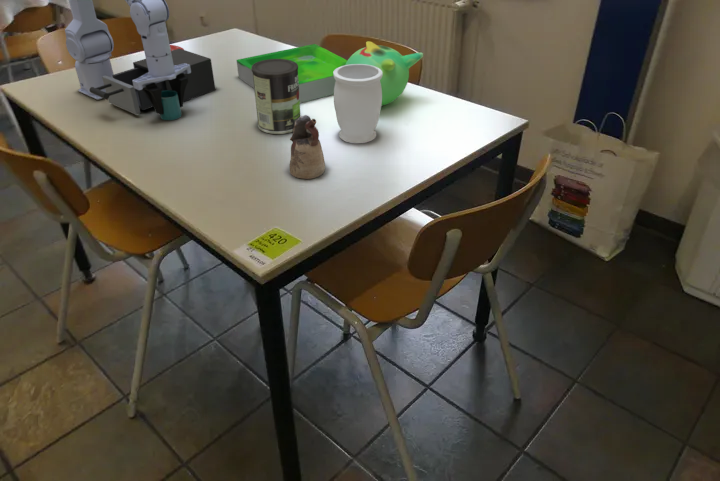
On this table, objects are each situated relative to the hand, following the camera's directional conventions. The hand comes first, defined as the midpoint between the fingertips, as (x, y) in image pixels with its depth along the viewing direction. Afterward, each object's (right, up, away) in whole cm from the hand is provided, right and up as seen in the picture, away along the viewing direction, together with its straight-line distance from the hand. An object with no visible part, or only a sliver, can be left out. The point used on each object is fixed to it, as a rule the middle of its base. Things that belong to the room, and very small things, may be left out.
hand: (169, 109), depth 136 cm
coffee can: (+27, -4, -3) cm, 27 cm away
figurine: (+35, -17, -20) cm, 44 cm away
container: (0, -1, +1) cm, 2 cm away
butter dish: (-9, +17, +26) cm, 32 cm away
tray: (+29, +12, +19) cm, 37 cm away
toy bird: (+50, +3, +8) cm, 51 cm away
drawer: (-10, +3, +5) cm, 11 cm away
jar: (+45, -8, -7) cm, 47 cm away
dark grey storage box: (-2, +8, +13) cm, 15 cm away
